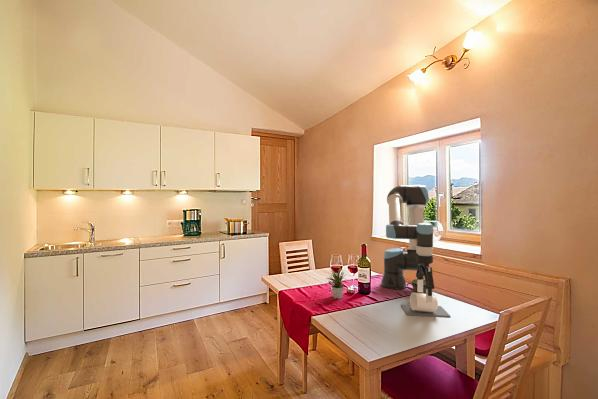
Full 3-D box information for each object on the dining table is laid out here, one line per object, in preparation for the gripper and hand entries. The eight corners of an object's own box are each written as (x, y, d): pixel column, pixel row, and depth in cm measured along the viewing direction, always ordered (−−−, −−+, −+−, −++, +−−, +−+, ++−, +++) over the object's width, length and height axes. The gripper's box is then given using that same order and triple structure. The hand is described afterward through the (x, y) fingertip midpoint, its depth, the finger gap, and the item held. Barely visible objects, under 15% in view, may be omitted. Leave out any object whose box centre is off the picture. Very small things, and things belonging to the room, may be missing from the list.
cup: (439, 310, 133) (418, 308, 133) (427, 315, 143) (407, 313, 143) (436, 292, 138) (416, 290, 137) (424, 298, 148) (405, 296, 148)
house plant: (327, 291, 171) (327, 264, 171) (350, 293, 167) (350, 265, 167) (322, 299, 157) (322, 270, 157) (347, 301, 154) (347, 272, 153)
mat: (440, 307, 146) (440, 305, 146) (450, 317, 134) (450, 315, 134) (400, 305, 149) (400, 304, 148) (406, 315, 137) (406, 313, 137)
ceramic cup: (426, 296, 161) (426, 279, 161) (434, 303, 151) (434, 284, 151) (403, 296, 162) (403, 279, 162) (410, 303, 152) (410, 284, 152)
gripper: (442, 260, 128) (442, 307, 128) (424, 249, 153) (424, 288, 153) (424, 260, 129) (424, 306, 129) (409, 249, 154) (409, 288, 154)
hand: (424, 296), depth 141 cm, fingers open, 13 cm apart
